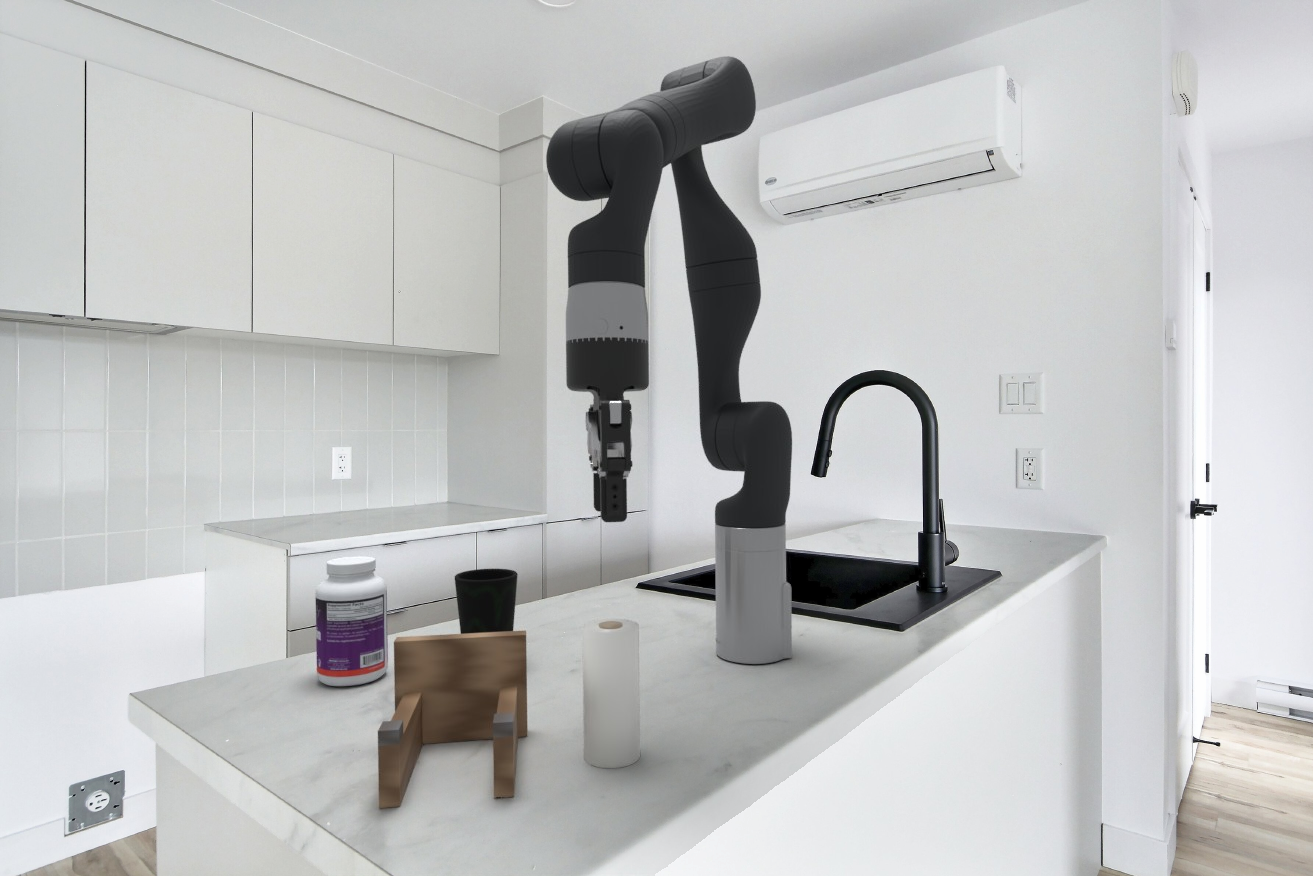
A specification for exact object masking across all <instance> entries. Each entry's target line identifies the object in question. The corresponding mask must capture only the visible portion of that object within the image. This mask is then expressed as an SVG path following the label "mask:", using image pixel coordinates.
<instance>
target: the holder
mask: <svg viewBox="0 0 1313 876" xmlns="http://www.w3.org/2000/svg"><path fill="white" fill-rule="evenodd" d="M527 662H528V659H527V630H513V631H505V632H486V633H467V634H461V633H452V634H451V633H448V634H433V635H431V634H430V635H429V634H428V635H414V636H413V635H412V636H411V635H410V636H396V638H395V639H394V641H393V668H394V671H393V673H394V674H393V675H394V679H393V680H394V681H393V682H394V713H393V715H392V717H391V720H386V721H382V722H381V725H380V726H379V728H378V730H377V759H378V760H377V761H378V762H377V763H378V764H377V765H378V766H377V767H378V773H377V774H378V809H385V808H396V807H397V808H398V807H401V804H402V802H403V799H404V797H405V793H406V791H407V788H408V786H409V782H410V780H411V778H412V774H413V771H414V769H415V767H416V764H417V761H418V758H419V756H420V752H421V750H422V746H423V745H426V744H427V745H428V744H442V743H452V742H453V743H455V742H456V743H457V742H467V741H468V742H469V741H481V740H492V741H493V742H492V743H493V744H492V745H493V748H492V749H493V752H492V753H493V759H492V760H493V761H492V762H493V799H496V798H495V797H501V798H502V797H505V798H512V797H513V798H514V797H515V785H516V774H517V773H516V770H517V757H518V755H517V754H518V742H519V741H518V740H519V738H520V737H523V738H524V737H528V683H527V682H528V679H527V678H528V675H527V674H528V673H527V672H528V671H527V664H528V663H527ZM501 798H500V799H501ZM502 799H503V798H502Z"/></svg>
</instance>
